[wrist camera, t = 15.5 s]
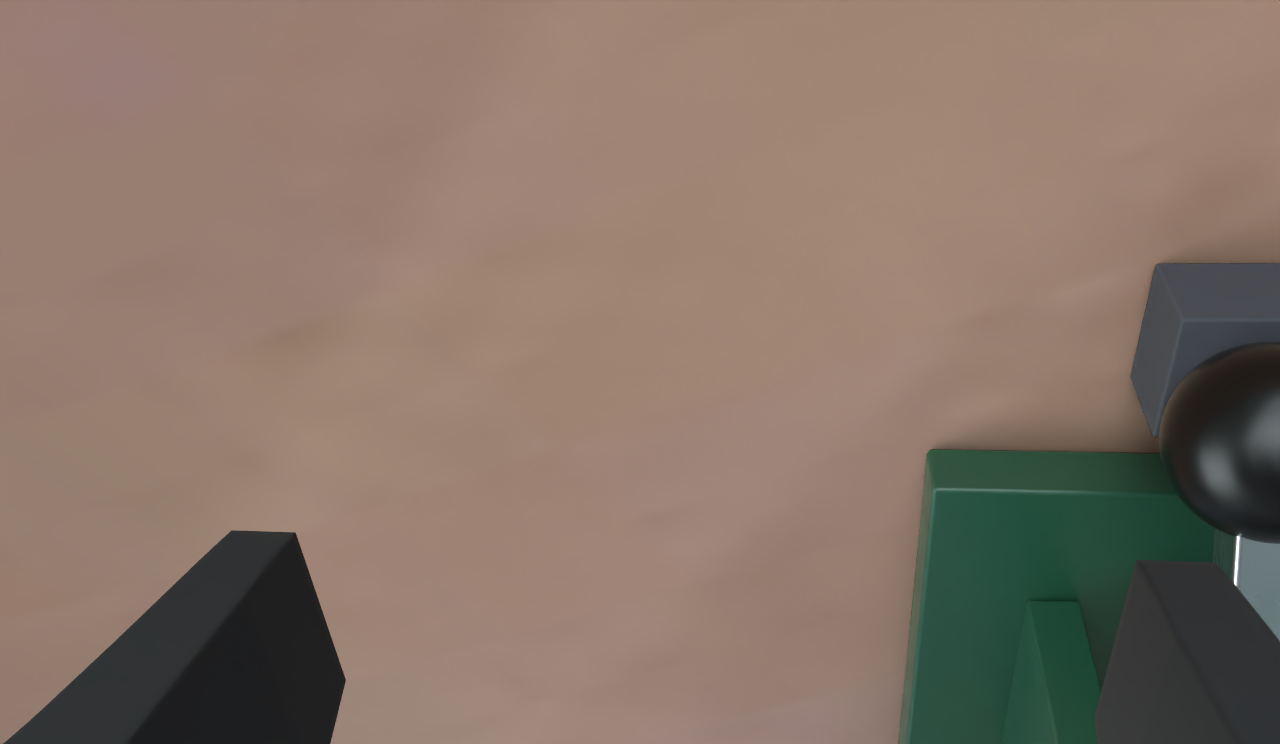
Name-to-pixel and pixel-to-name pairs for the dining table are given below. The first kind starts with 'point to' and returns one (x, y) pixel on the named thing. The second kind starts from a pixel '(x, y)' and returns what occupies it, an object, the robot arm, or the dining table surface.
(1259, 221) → the dining table surface
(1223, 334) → the block
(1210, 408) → the rod
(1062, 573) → the rod bracket
